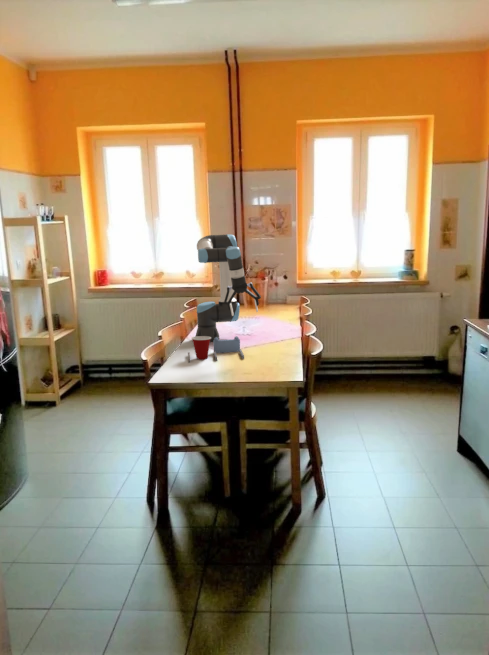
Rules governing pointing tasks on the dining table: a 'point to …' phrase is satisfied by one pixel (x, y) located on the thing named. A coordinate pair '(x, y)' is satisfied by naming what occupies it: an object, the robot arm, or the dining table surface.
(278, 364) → the dining table surface
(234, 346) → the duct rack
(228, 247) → the robot arm
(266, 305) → the dining table surface
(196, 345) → the plastic cup
